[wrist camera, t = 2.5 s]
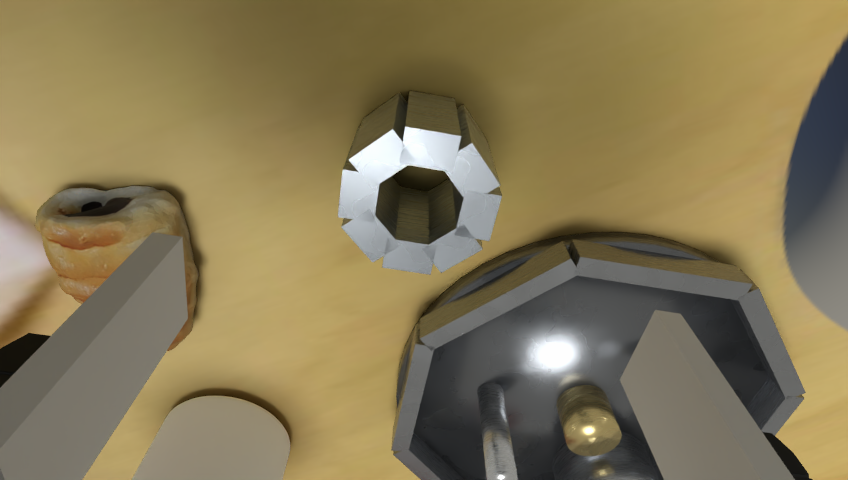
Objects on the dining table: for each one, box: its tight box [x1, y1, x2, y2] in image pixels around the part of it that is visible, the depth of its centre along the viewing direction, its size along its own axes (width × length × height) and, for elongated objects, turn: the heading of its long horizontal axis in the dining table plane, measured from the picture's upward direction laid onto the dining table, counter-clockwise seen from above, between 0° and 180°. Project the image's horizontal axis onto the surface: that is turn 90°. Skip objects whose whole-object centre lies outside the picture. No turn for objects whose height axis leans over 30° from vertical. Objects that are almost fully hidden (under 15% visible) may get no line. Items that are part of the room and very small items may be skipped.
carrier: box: [392, 232, 805, 480], centre depth 28 cm, size 22×22×7 cm
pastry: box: [35, 186, 199, 351], centre depth 25 cm, size 9×7×4 cm
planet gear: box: [338, 90, 502, 275], centre depth 21 cm, size 6×6×5 cm
